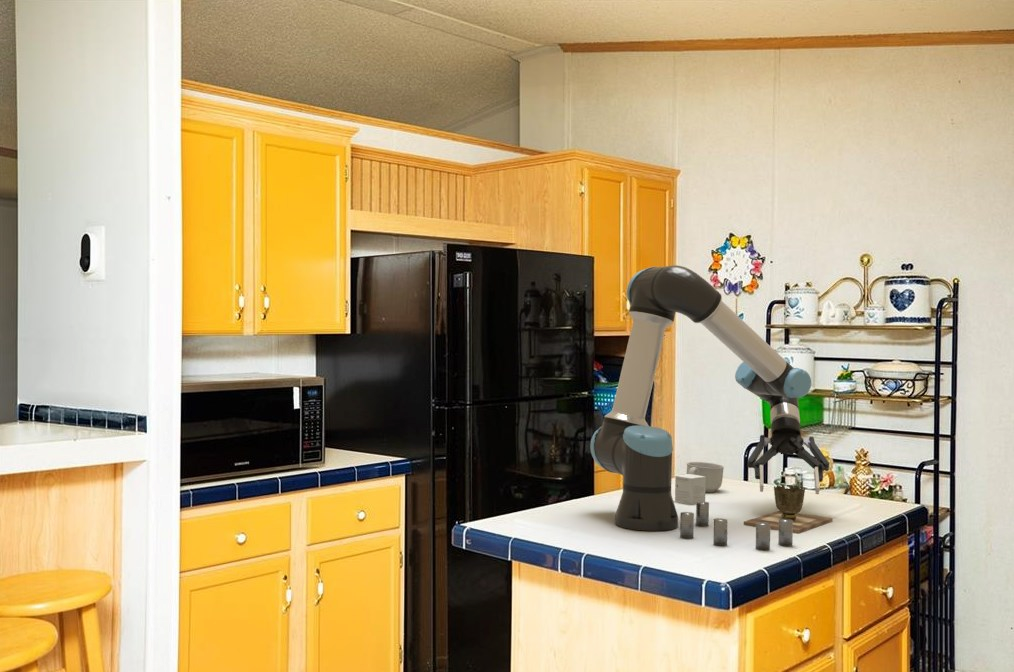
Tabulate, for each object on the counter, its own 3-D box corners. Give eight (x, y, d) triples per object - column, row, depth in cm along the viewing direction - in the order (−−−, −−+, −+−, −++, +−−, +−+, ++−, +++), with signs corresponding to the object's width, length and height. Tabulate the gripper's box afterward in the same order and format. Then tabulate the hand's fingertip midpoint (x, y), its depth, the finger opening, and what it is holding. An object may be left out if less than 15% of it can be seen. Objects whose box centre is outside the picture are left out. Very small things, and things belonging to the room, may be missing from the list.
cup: (775, 521, 237) (775, 488, 237) (771, 515, 244) (772, 484, 244) (806, 522, 235) (807, 490, 235) (802, 517, 243) (802, 485, 243)
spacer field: (710, 552, 206) (711, 527, 206) (657, 525, 234) (657, 502, 234) (801, 548, 212) (801, 523, 212) (738, 522, 239) (739, 500, 239)
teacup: (701, 486, 294) (702, 460, 294) (731, 491, 285) (731, 464, 285) (671, 491, 285) (671, 463, 285) (700, 496, 276) (701, 468, 276)
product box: (674, 501, 267) (674, 475, 267) (688, 499, 271) (688, 473, 271) (691, 505, 263) (692, 478, 262) (706, 502, 266) (706, 476, 266)
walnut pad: (798, 533, 228) (798, 529, 228) (743, 524, 237) (743, 521, 237) (832, 521, 243) (832, 517, 243) (779, 513, 252) (779, 510, 252)
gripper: (832, 434, 259) (839, 500, 245) (737, 431, 264) (738, 496, 250) (835, 416, 254) (843, 483, 240) (738, 414, 259) (739, 478, 245)
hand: (789, 489), depth 245 cm, fingers open, 13 cm apart
